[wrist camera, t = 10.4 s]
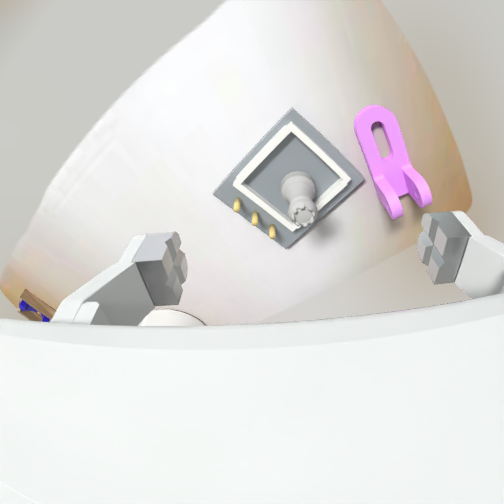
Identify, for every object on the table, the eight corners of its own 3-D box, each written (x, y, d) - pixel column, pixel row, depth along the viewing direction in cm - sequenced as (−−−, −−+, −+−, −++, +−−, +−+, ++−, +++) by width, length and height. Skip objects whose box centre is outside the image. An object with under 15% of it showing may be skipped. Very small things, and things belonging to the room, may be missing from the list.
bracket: (413, 185, 39) (433, 209, 33) (378, 198, 40) (395, 225, 35) (386, 98, 32) (408, 110, 26) (346, 113, 34) (363, 127, 28)
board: (285, 244, 46) (286, 259, 43) (214, 191, 41) (209, 203, 38) (362, 175, 38) (370, 187, 36) (291, 107, 34) (294, 112, 31)
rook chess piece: (279, 169, 38) (282, 198, 31) (315, 169, 37) (326, 198, 31) (279, 201, 40) (282, 235, 34) (314, 201, 40) (323, 234, 34)
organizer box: (58, 329, 63) (54, 336, 61) (22, 304, 59) (17, 311, 57) (64, 315, 59) (59, 324, 57) (25, 289, 55) (20, 296, 53)
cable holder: (26, 299, 57) (18, 311, 54) (27, 291, 56) (19, 303, 53) (52, 317, 60) (45, 330, 57) (54, 310, 59) (47, 323, 56)
